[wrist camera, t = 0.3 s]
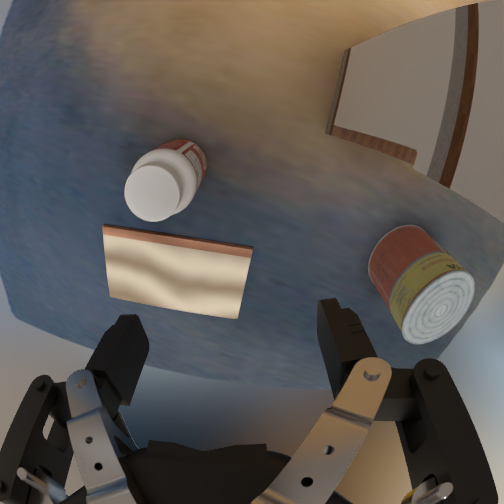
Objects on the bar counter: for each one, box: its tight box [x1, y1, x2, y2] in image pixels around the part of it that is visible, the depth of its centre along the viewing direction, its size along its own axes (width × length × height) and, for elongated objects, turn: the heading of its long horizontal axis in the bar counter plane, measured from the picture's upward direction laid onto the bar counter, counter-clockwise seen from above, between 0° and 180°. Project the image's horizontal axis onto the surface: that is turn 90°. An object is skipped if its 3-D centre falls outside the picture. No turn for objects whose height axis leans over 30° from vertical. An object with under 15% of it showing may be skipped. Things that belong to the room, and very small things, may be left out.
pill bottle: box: [125, 139, 207, 222], centre depth 25 cm, size 6×6×11 cm
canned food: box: [368, 225, 475, 344], centre depth 31 cm, size 11×11×12 cm
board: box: [102, 224, 253, 319], centre depth 36 cm, size 12×20×1 cm, turn 79°
